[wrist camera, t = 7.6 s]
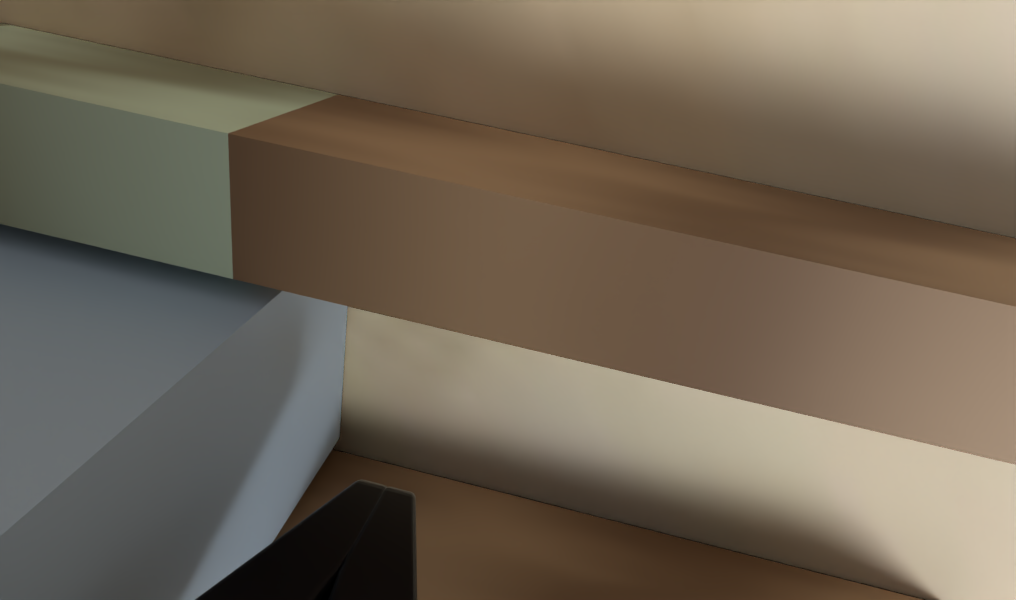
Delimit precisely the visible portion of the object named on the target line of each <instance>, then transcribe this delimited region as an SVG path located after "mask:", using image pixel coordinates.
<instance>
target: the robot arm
mask: <svg viewBox="0 0 1016 600" xmlns="http://www.w3.org/2000/svg"><path fill="white" fill-rule="evenodd" d="M195 600H417V545H416V497H415V494H414V493H412V492H410V491H406V490H402V489H398V488H394V487H389V486H388V487H387V486H385V485H383V484H379V483H375V482H371V481H367V480H362V479H361V480H357V481H355V482H354V483H352V484H351V485H350V486H348V487H347V488H346V489H344V490H343V491H342V492H340V493H339V494H338V495H336V496H335V497H333V498H332V499H331V500H329V501H328V502H327V503H325V504H324V505H323V506H321V507H320V508H319V509H317V510H316V511H314V512H313V513H312V514H310V515H309V516H308V517H306V518H305V519H304V520H302V521H301V522H300V523H298V524H297V525H295V526H294V527H293V528H291V529H290V530H289V531H287V532H286V533H285V534H283V535H282V536H281V537H279V538H278V539H276V540H275V541H274V542H272V543H271V544H270V545H268V546H267V547H266V548H264V549H263V550H262V551H260V552H259V553H257V554H256V555H255V556H253V557H252V558H251V559H249V560H248V561H247V562H245V563H244V564H243V565H241V566H240V567H238V568H237V569H236V570H234V571H233V572H232V573H230V574H229V575H228V576H226V577H225V578H224V579H222V580H221V581H219V582H218V583H217V584H215V585H214V586H213V587H211V588H210V589H209V590H207V591H206V592H205V593H203V594H202V595H200V596H199V597H198V598H196V599H195Z"/></svg>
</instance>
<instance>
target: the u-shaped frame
mask: <svg viewBox="0 0 1016 600" xmlns="http://www.w3.org/2000/svg"><path fill="white" fill-rule="evenodd" d="M0 224H3V225H7V226H11V227H15V228H20V229H24V230H28V231H32V232H37V233H41V234H45V235H49V236H53V237H58V238H62V239H66V240H70V241H75V242H79V243H83V244H87V245H91V246H96V247H100V248H104V249H108V250H112V251H117V252H121V253H125V254H129V255H134V256H138V257H142V258H146V259H150V260H155V261H159V262H163V263H167V264H172V265H176V266H180V267H184V268H188V269H193V270H197V271H201V272H205V273H210V274H214V275H218V276H222V277H226V278H231V279H235V280H239V281H243V282H248V283H252V284H256V285H260V286H264V287H269V288H273V289H277V290H281V291H285V292H290V293H294V294H298V295H302V296H307V297H311V298H315V299H319V300H323V301H328V302H332V303H336V304H340V305H345V306H349V307H353V308H357V309H361V310H366V311H370V312H374V313H378V314H383V315H387V316H391V317H395V318H399V319H404V320H408V321H412V322H416V323H421V324H425V325H429V326H433V327H437V328H442V329H446V330H450V331H454V332H458V333H463V334H467V335H471V336H475V337H480V338H484V339H488V340H492V341H496V342H501V343H505V344H509V345H513V346H518V347H522V348H526V349H530V350H534V351H539V352H543V353H547V354H551V355H556V356H560V357H564V358H568V359H572V360H577V361H581V362H585V363H589V364H594V365H598V366H602V367H606V368H610V369H615V370H619V371H623V372H627V373H631V374H636V375H640V376H644V377H648V378H653V379H657V380H661V381H665V382H669V383H674V384H678V385H682V386H686V387H691V388H695V389H699V390H703V391H707V392H712V393H716V394H720V395H724V396H729V397H733V398H737V399H741V400H745V401H750V402H754V403H758V404H762V405H767V406H771V407H775V408H779V409H783V410H788V411H792V412H796V413H800V414H804V415H809V416H813V417H817V418H821V419H826V420H830V421H834V422H838V423H842V424H847V425H851V426H855V427H859V428H864V429H868V430H872V431H876V432H880V433H885V434H889V435H893V436H897V437H902V438H906V439H910V440H914V441H918V442H923V443H927V444H931V445H935V446H940V447H944V448H948V449H952V450H956V451H961V452H965V453H969V454H973V455H977V456H982V457H986V458H990V459H994V460H999V461H1003V462H1007V463H1011V464H1015V465H1016V238H1011V237H1006V236H1002V235H997V234H992V233H988V232H983V231H978V230H974V229H969V228H964V227H959V226H955V225H950V224H945V223H941V222H936V221H931V220H927V219H922V218H917V217H912V216H908V215H903V214H898V213H894V212H889V211H884V210H879V209H875V208H870V207H865V206H861V205H856V204H851V203H847V202H842V201H837V200H832V199H828V198H823V197H818V196H814V195H809V194H804V193H799V192H795V191H790V190H785V189H781V188H776V187H771V186H767V185H762V184H757V183H752V182H748V181H743V180H738V179H734V178H729V177H724V176H720V175H715V174H710V173H705V172H701V171H696V170H691V169H687V168H682V167H677V166H672V165H668V164H663V163H658V162H654V161H649V160H644V159H640V158H635V157H630V156H625V155H621V154H616V153H611V152H607V151H602V150H597V149H592V148H588V147H583V146H578V145H574V144H569V143H564V142H560V141H555V140H550V139H545V138H541V137H536V136H531V135H527V134H522V133H517V132H513V131H508V130H503V129H498V128H494V127H489V126H484V125H480V124H475V123H470V122H465V121H461V120H456V119H451V118H447V117H442V116H437V115H433V114H428V113H423V112H418V111H414V110H409V109H404V108H400V107H395V106H390V105H385V104H381V103H376V102H371V101H367V100H362V99H357V98H353V97H348V96H343V95H338V94H334V93H329V92H324V91H320V90H315V89H310V88H305V87H301V86H296V85H291V84H287V83H282V82H277V81H273V80H268V79H263V78H258V77H254V76H249V75H244V74H240V73H235V72H230V71H226V70H221V69H216V68H211V67H207V66H202V65H197V64H193V63H188V62H183V61H178V60H174V59H169V58H164V57H160V56H155V55H150V54H146V53H141V52H136V51H131V50H127V49H122V48H117V47H113V46H108V45H103V44H98V43H94V42H89V41H84V40H80V39H75V38H70V37H66V36H61V35H56V34H51V33H47V32H42V31H37V30H33V29H28V28H23V27H19V26H14V25H9V24H4V23H0ZM361 479H362V480H367V481H371V482H375V483H379V484H383V485H385V486H387V487H388V486H389V487H394V488H398V489H402V490H406V491H410V492H412V493H414V494H415V497H416V545H417V600H922V599H919V598H915V597H911V596H907V595H903V594H899V593H895V592H891V591H887V590H883V589H879V588H875V587H871V586H867V585H863V584H860V583H856V582H852V581H848V580H844V579H840V578H836V577H832V576H828V575H824V574H820V573H816V572H812V571H808V570H804V569H801V568H797V567H793V566H789V565H785V564H781V563H777V562H773V561H769V560H765V559H761V558H757V557H753V556H749V555H745V554H741V553H738V552H734V551H730V550H726V549H722V548H718V547H714V546H710V545H706V544H702V543H698V542H694V541H690V540H686V539H682V538H679V537H675V536H671V535H667V534H663V533H659V532H655V531H651V530H647V529H643V528H639V527H635V526H631V525H627V524H623V523H620V522H616V521H612V520H608V519H604V518H600V517H596V516H592V515H588V514H584V513H580V512H576V511H572V510H568V509H564V508H560V507H557V506H553V505H549V504H545V503H541V502H537V501H533V500H529V499H525V498H521V497H517V496H513V495H509V494H505V493H501V492H498V491H494V490H490V489H486V488H482V487H478V486H474V485H470V484H466V483H462V482H458V481H454V480H450V479H446V478H442V477H439V476H435V475H431V474H427V473H423V472H419V471H415V470H411V469H407V468H403V467H399V466H395V465H391V464H387V463H383V462H379V461H376V460H372V459H368V458H364V457H360V456H356V455H352V454H348V453H344V452H340V451H336V450H331V452H330V453H329V455H328V457H327V458H326V460H325V461H324V463H323V464H322V466H321V468H320V469H319V471H318V472H317V474H316V475H315V477H314V478H313V480H312V482H311V483H310V485H309V486H308V488H307V489H306V491H305V493H304V494H303V496H302V497H301V499H300V500H299V502H298V503H297V505H296V507H295V508H294V510H293V511H292V513H291V514H290V516H289V517H288V519H287V521H286V522H285V524H284V525H283V527H282V528H281V530H280V532H279V533H278V535H277V536H276V538H275V539H274V541H275V540H276V539H278V538H279V537H281V536H282V535H283V534H285V533H286V532H287V531H289V530H290V529H291V528H293V527H294V526H295V525H297V524H298V523H300V522H301V521H302V520H304V519H305V518H306V517H308V516H309V515H310V514H312V513H313V512H314V511H316V510H317V509H319V508H320V507H321V506H323V505H324V504H325V503H327V502H328V501H329V500H331V499H332V498H333V497H335V496H336V495H338V494H339V493H340V492H342V491H343V490H344V489H346V488H347V487H348V486H350V485H351V484H352V483H354V482H355V481H357V480H361ZM274 541H273V542H274Z"/></svg>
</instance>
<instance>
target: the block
mask: <svg viewBox="0 0 1016 600" xmlns="http://www.w3.org/2000/svg"><path fill="white" fill-rule="evenodd" d="M347 307H348V306H345V305H340V304H336V303H332V302H328V301H323V300H319V299H315V298H311V297H307V296H302V295H298V294H294V293H290V292H285V291H281V290H277V289H273V288H269V287H264V286H260V285H256V284H252V283H248V282H243V281H239V280H235V279H231V278H226V277H222V276H218V275H214V274H210V273H205V272H201V271H197V270H193V269H188V268H184V267H180V266H176V265H172V264H167V263H163V262H159V261H155V260H150V259H146V258H142V257H138V256H134V255H129V254H125V253H121V252H117V251H112V250H108V249H104V248H100V247H96V246H91V245H87V244H83V243H79V242H75V241H70V240H66V239H62V238H58V237H53V236H49V235H45V234H41V233H37V232H32V231H28V230H24V229H20V228H15V227H11V226H7V225H3V224H0V600H195V599H196V598H198V597H199V596H200V595H202V594H203V593H205V592H206V591H207V590H209V589H210V588H211V587H213V586H214V585H215V584H217V583H218V582H219V581H221V580H222V579H224V578H225V577H226V576H228V575H229V574H230V573H232V572H233V571H234V570H236V569H237V568H238V567H240V566H241V565H243V564H244V563H245V562H247V561H248V560H249V559H251V558H252V557H253V556H255V555H256V554H257V553H259V552H260V551H262V550H263V549H264V548H266V547H267V546H268V545H270V544H271V543H272V542H273V541H274V539H275V538H276V536H277V535H278V533H279V532H280V530H281V528H282V527H283V525H284V524H285V522H286V521H287V519H288V517H289V516H290V514H291V513H292V511H293V510H294V508H295V507H296V505H297V503H298V502H299V500H300V499H301V497H302V496H303V494H304V493H305V491H306V489H307V488H308V486H309V485H310V483H311V482H312V480H313V478H314V477H315V475H316V474H317V472H318V471H319V469H320V468H321V466H322V464H323V463H324V461H325V460H326V458H327V457H328V455H329V453H330V452H331V450H332V449H333V447H334V446H335V444H336V443H337V441H338V439H339V438H340V422H341V406H342V389H343V373H344V357H345V340H346V324H347Z"/></svg>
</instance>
